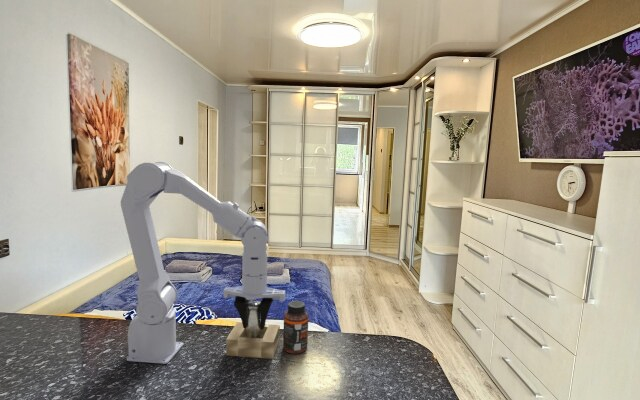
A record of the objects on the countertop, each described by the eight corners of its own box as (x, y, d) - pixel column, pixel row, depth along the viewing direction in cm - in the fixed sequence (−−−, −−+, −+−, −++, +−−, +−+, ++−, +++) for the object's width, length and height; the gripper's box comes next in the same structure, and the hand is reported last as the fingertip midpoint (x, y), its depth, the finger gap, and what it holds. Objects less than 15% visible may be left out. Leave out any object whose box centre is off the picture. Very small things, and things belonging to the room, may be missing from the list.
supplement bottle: (304, 356, 78) (305, 310, 77) (279, 353, 79) (280, 307, 78) (309, 343, 84) (311, 300, 82) (287, 339, 85) (288, 297, 84)
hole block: (226, 355, 77) (226, 339, 77) (237, 337, 85) (237, 322, 85) (272, 358, 77) (273, 342, 76) (279, 340, 85) (279, 325, 84)
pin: (243, 343, 78) (244, 306, 78) (248, 336, 82) (248, 300, 82) (259, 345, 78) (260, 307, 78) (263, 337, 82) (264, 301, 81)
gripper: (218, 276, 75) (218, 333, 77) (281, 280, 74) (280, 337, 76) (229, 266, 82) (229, 318, 84) (287, 269, 81) (286, 322, 83)
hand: (254, 326), depth 80 cm, fingers closed on pin, 3 cm apart
